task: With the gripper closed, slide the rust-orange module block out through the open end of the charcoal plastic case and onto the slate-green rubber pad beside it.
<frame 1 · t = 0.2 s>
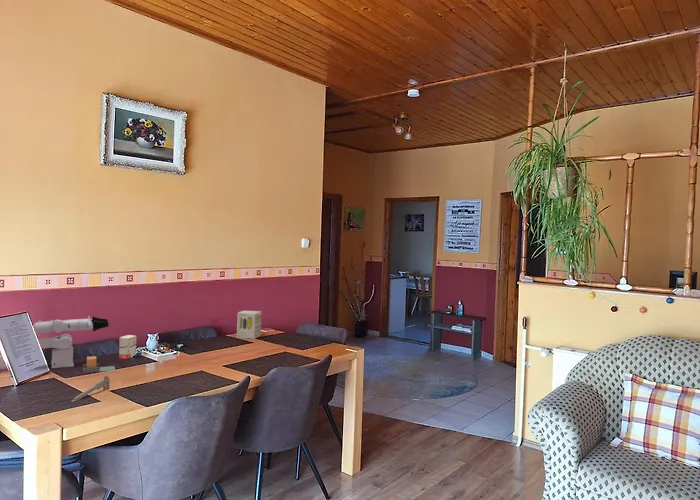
hand: (108, 322, 258), 21 cm above the table, tool horizontal, fingers open, 7 cm apart
caliper: (91, 395, 205), on the table
module: (91, 369, 241), resting on case
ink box: (127, 358, 271), on the table
case: (91, 370, 241), on the table
pad: (107, 369, 245), on the table
supplement box: (248, 337, 342), on the table
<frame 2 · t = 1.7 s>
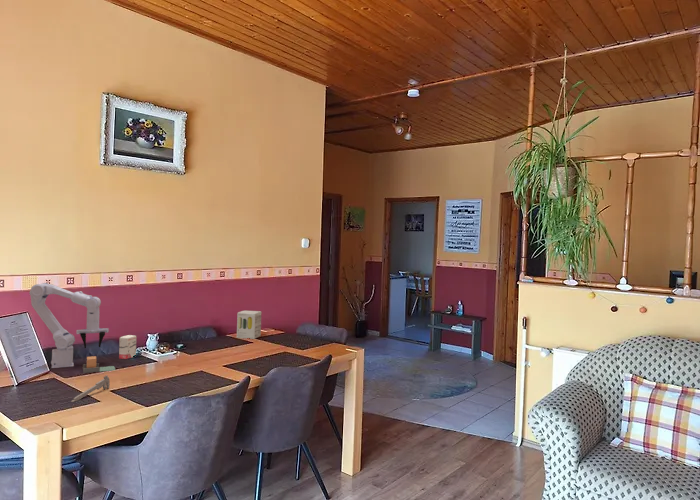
hand: (92, 347, 251), 9 cm above the table, tool pointing down, fingers open, 6 cm apart
nothing on the table moved.
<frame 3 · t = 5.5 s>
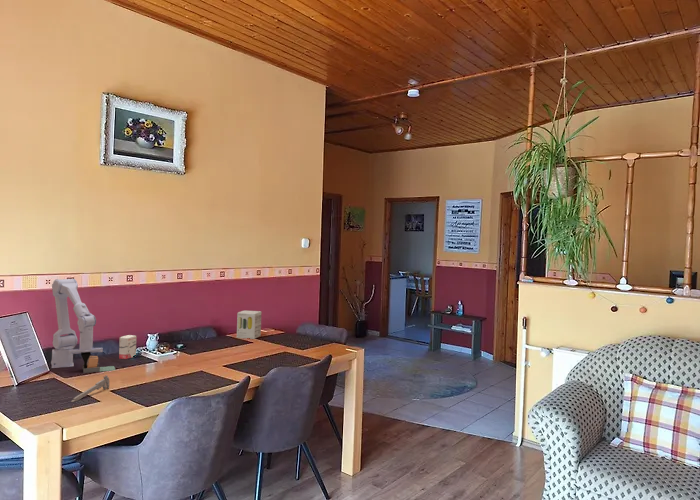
hand: (85, 367, 240), 2 cm above the table, tool pointing down, fingers closed
module: (91, 369, 241), point 1 cm above the table, tilted 7°, touching case, gripper
everything else where it was.
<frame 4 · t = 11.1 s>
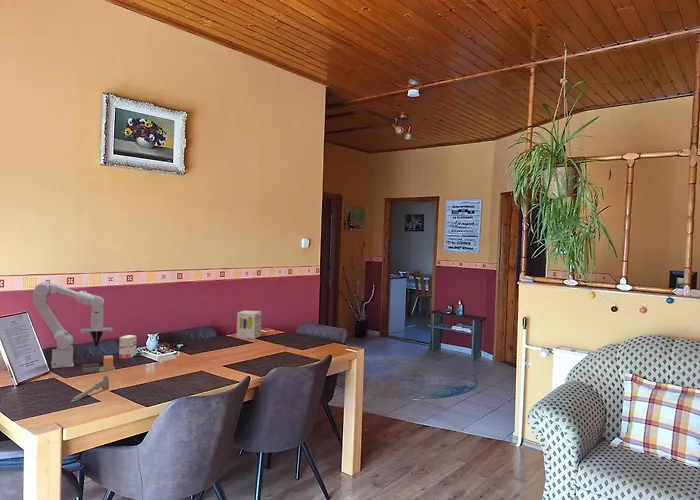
hand: (96, 346, 254), 9 cm above the table, tool pointing down, fingers closed
module: (108, 368, 245), resting on pad
everything else where it was.
at the end: module 0.5 cm off-centre on the pad, point 0.4 cm above the pad's base; module tilted 0°; module moved 7.5 cm from its start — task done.
